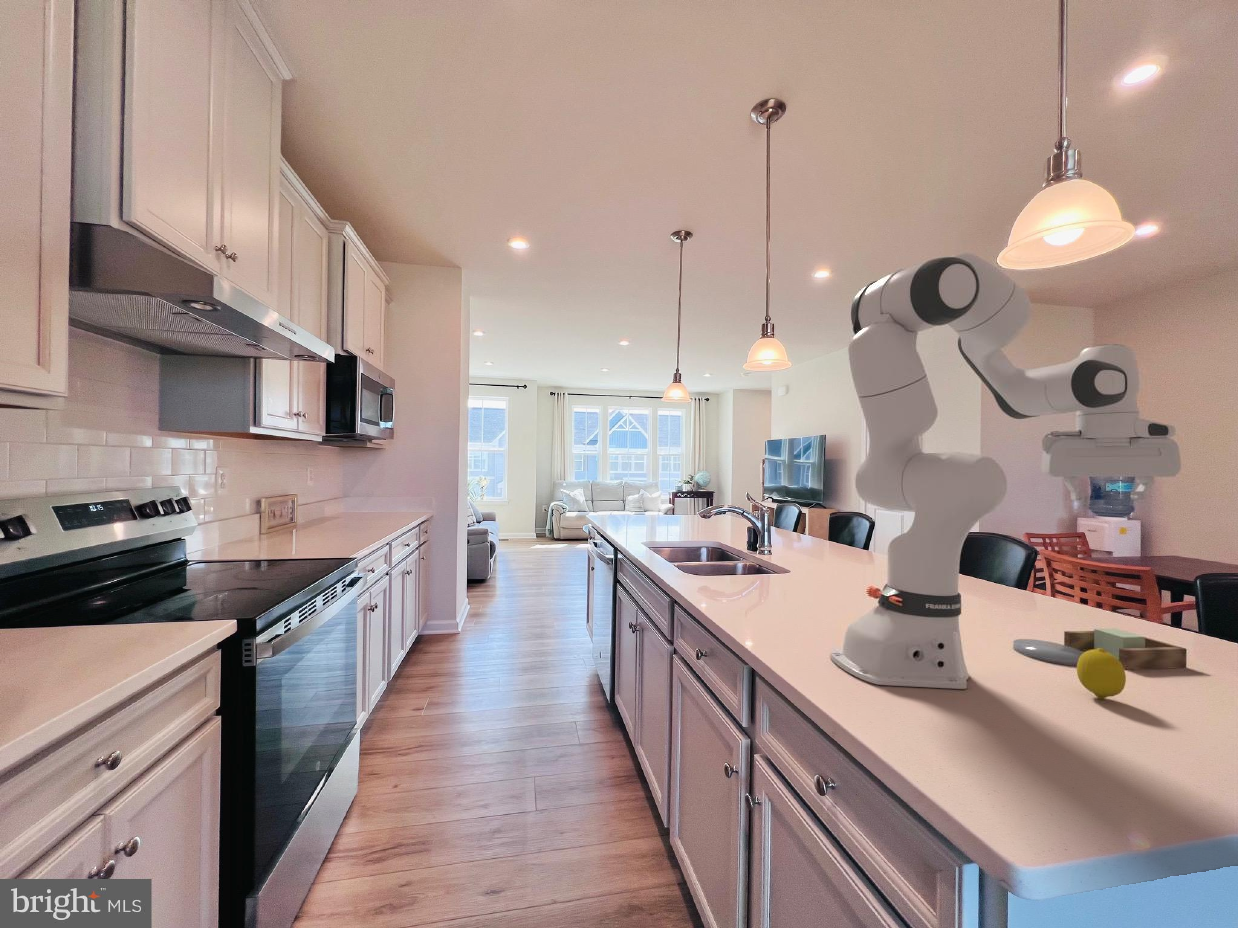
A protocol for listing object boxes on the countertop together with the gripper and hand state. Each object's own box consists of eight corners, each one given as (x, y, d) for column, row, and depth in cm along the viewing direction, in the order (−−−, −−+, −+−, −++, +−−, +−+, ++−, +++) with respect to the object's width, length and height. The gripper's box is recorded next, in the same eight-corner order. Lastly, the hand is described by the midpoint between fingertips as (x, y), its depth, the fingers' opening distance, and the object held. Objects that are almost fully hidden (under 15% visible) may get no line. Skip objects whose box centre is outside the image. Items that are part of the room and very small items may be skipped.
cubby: (1125, 669, 90) (1125, 650, 90) (1064, 648, 100) (1064, 631, 100) (1186, 667, 91) (1186, 648, 92) (1120, 646, 102) (1120, 630, 102)
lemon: (1103, 692, 80) (1104, 643, 80) (1136, 708, 74) (1136, 655, 74) (1067, 689, 80) (1067, 641, 80) (1096, 705, 75) (1097, 653, 75)
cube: (1122, 663, 93) (1123, 637, 93) (1094, 653, 98) (1094, 628, 98) (1144, 662, 94) (1145, 636, 94) (1115, 653, 99) (1115, 628, 99)
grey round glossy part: (1053, 666, 90) (1053, 659, 90) (999, 645, 101) (999, 639, 101) (1103, 664, 92) (1103, 658, 92) (1045, 643, 103) (1045, 638, 103)
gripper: (1051, 430, 95) (1051, 500, 95) (1187, 426, 89) (1188, 502, 89) (1034, 432, 101) (1034, 498, 101) (1160, 429, 95) (1161, 500, 95)
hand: (1107, 500), depth 95 cm, fingers open, 8 cm apart
